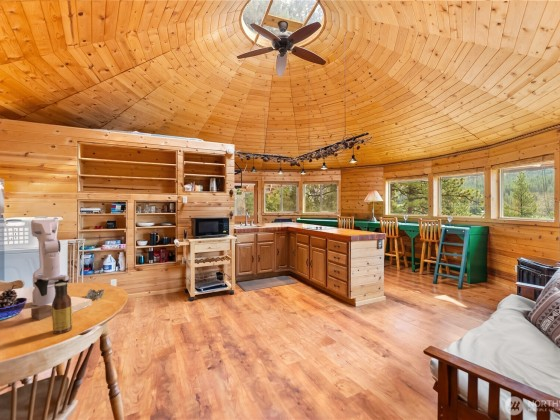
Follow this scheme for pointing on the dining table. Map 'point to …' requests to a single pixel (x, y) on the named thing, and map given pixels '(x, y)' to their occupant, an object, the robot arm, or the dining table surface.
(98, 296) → the egg carton
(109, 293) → the dining table surface
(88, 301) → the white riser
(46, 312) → the walnut cube
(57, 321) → the sauce bottle
